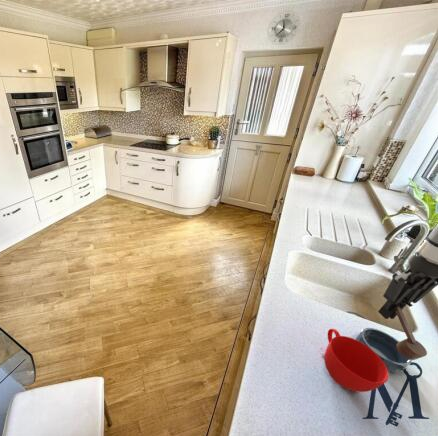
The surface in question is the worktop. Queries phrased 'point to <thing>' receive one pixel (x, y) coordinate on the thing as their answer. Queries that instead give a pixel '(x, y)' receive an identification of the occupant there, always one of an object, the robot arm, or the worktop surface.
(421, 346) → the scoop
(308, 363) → the worktop surface
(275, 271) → the worktop surface
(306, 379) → the worktop surface
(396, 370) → the bowl
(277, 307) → the worktop surface
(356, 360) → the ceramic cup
